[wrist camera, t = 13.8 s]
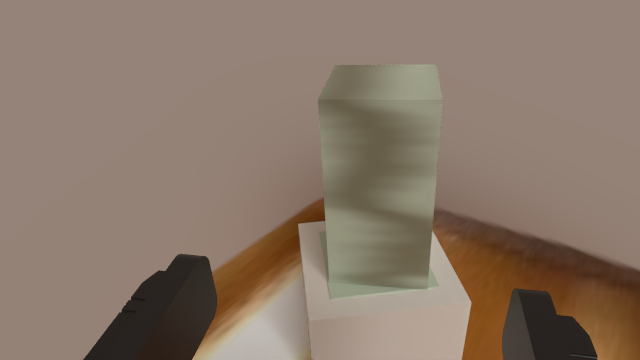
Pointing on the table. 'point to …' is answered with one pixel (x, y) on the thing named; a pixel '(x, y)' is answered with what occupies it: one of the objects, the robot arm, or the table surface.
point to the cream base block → (381, 310)
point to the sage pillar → (380, 172)
